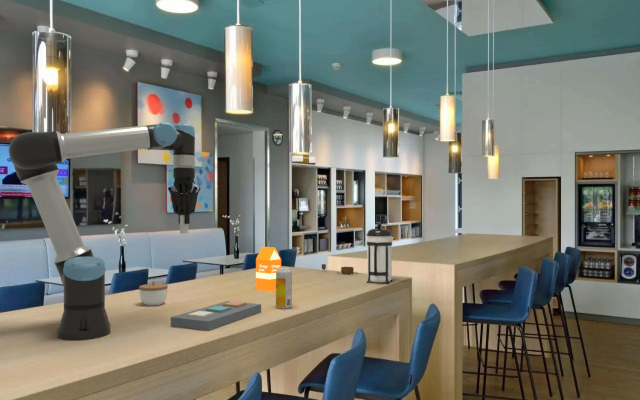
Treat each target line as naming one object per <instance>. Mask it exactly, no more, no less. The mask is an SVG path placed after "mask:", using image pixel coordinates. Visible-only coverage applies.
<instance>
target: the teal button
mask: <svg viewBox="0 0 640 400" xmlns="http://www.w3.org/2000/svg"><path fill="white" fill-rule="evenodd" d="M228 310H231V307H224V306H214V307H211V308H207V309H206V311H208V312H218V313H222V312H225V311H228Z"/></svg>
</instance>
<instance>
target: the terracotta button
mask: <svg viewBox="0 0 640 400" xmlns="http://www.w3.org/2000/svg"><path fill="white" fill-rule="evenodd" d="M246 303H247V302H246V301H237V300H236V301H235V300H234V301H233V300H232V301H231V302H228V303H224V304H223V306H225V307H236V308H238V307H241V306H244V305H246Z"/></svg>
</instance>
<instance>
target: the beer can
mask: <svg viewBox="0 0 640 400" xmlns="http://www.w3.org/2000/svg"><path fill="white" fill-rule="evenodd" d="M292 273H293V272H292V269H291V268H289V267H281V268H278V269H277V271H276V290H275V306H276V308H277V309H279V310H280V309H281V310H288V309H291V308H292V306H293V299H292V298H293V294H292V293H293V285H292V283H293V282H292V281H293V278H292V277H293V274H292Z"/></svg>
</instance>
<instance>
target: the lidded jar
mask: <svg viewBox="0 0 640 400" xmlns="http://www.w3.org/2000/svg"><path fill="white" fill-rule="evenodd" d="M168 287H169V286H168V284H165V283H156V281H151V283H147V284H142V285H139V286H138V289H139V298H140V301H141V302H142V304H143V305H144V306H147V307H152V306H153V307H154V306H155V307H156V306H161V305H163V304H164V303H165V301H166V299H167V298H168V297H167V296H168Z"/></svg>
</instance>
